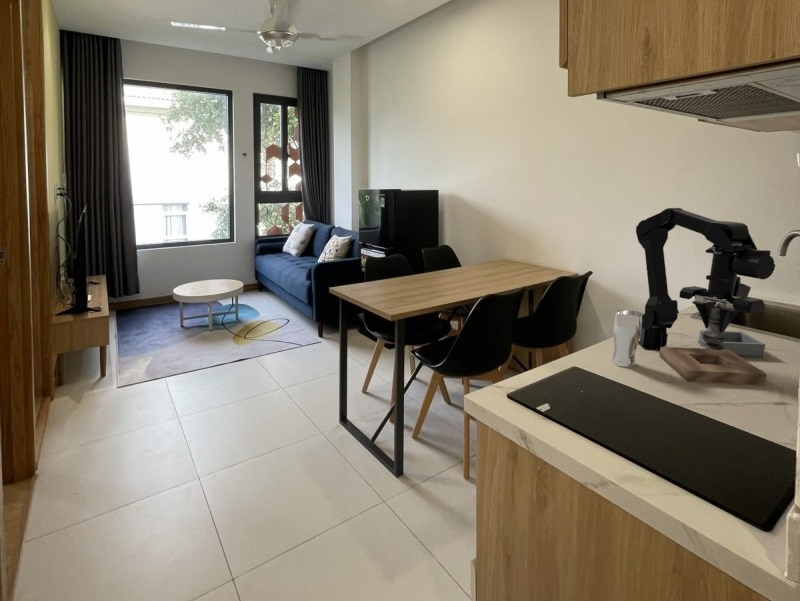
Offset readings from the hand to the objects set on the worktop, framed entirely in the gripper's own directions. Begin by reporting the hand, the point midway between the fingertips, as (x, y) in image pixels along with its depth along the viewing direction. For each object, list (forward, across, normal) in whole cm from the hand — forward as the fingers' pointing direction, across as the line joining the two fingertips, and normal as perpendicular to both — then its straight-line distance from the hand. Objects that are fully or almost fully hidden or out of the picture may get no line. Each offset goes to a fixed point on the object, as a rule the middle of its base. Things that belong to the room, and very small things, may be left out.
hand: (714, 330), depth 121 cm
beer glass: (+12, +12, +17) cm, 24 cm away
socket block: (+11, 0, 0) cm, 11 cm away
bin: (+11, +9, -21) cm, 25 cm away
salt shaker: (+5, 0, 0) cm, 5 cm away
